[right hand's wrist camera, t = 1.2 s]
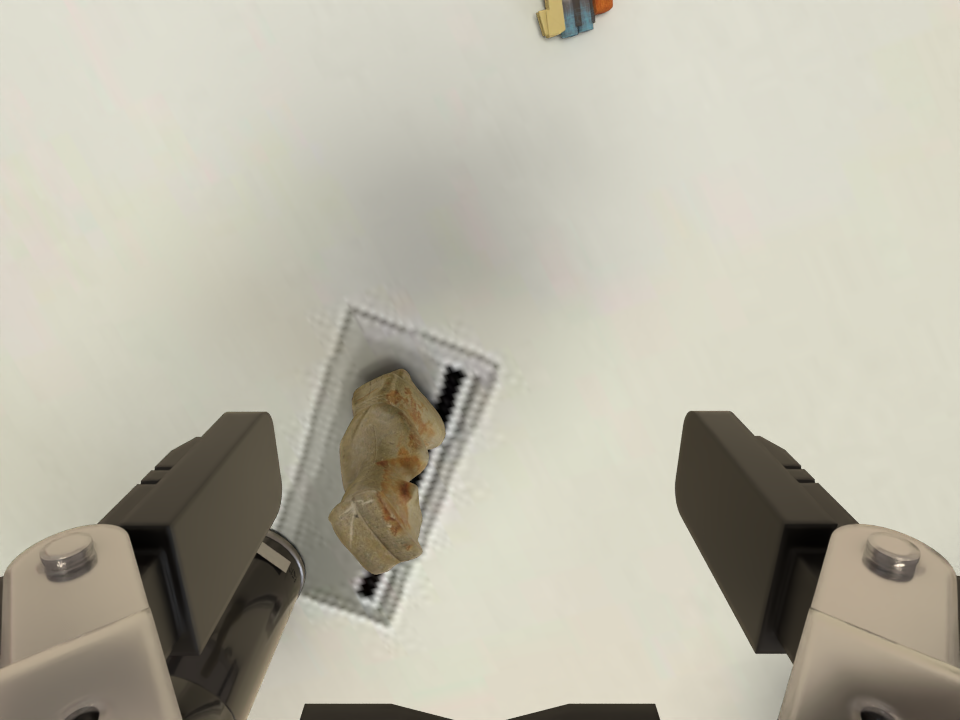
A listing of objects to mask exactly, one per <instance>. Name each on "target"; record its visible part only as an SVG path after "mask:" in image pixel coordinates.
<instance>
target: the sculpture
mask: <svg viewBox="0 0 960 720" xmlns="http://www.w3.org/2000/svg"><path fill="white" fill-rule="evenodd" d="M352 409H353V416H354V418H353V420H352V421H351V423H350V425H349V427H348V429H347V430H346V432H345V434H344V436H343V438H342V440H341V443H340V464H341V474H342V481H343V486H344V490H345V494H344V496H343V498H342V501H341V503H339V504H338V505H337V506H336V507H335V508H334V509H333V510H332V511H331V513H330V514H329V517H328V518H329V521H330V522H331V524H332V526H333V529H334V531H335V533H336V535H337V536H338V538H339V539H340V541H341V542H342V543H343V545H344V546H345V547H346V548H347V549H348V550H349V551H350V552H351V553H352V554H353V555H354V556H355V558H356V559H357V560H358V561H359V562H360V564H361V565H362V566H363V567H364V568H365V569H366V570H367V571H369V572H371V573H372V574H375V575H377V574H381V573H384V572H387V571H389V570H390V569H391V568H393V567H394V566H395V565H396V564H398V563H400V562H404V561H408V560H411V559H414V558H417V557H418V556H420V555H421V554H422V552H423V551H422V548H421V546H420V544H419V542H418V537H419V532H420V526H421V523H422V514H421V510H420V506H419V495H418V487H417V486H416V485H415V484H413V483H410V482H409V481H410V480H411V479H413V478H414V477H415V476H417V475H418V474H420V473H421V472H422V471H423V470H424V469H425V467H426V466H427V463H428V459H429V454H428V449H433V448H436V447H438V446H439V445H440V444H441V443H442V442H443V440H444V438H445V434H446V433H445V426H444V423H443V421H442V419H441V417H440V415H439V414H438V412H437V411H436V409H435V408H434V407H433V406H432V405H431V403H430V402H429V401H428V400H427V399H426V397H425V396H424V395H423V394H422V393H421V392H420V391H419V390H418V389H417V387H416V386H415V385H414V383H413V382H412V380H411V377H410V375H409V374H408V372H407V371H405V370H404V369H398V370H395V371H393V372H390V373H387V374H384V375H382V376H380V377H378V378H375V379H373V380H371V381H369V382H367V383H366V384H364V385H362V386H361V387H359V388H358V389H357V390H355V392H354V394H353V398H352Z"/></svg>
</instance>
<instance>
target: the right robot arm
mask: <svg viewBox="0 0 960 720" xmlns="http://www.w3.org/2000/svg"><path fill="white" fill-rule="evenodd" d="M675 496H676V503H677V507H678V510H679V513H680V515H681V517H682V519H683V521H684V523H685V525H686V526H687V528H688V530H689V532H690V534H691V536H692V537H693V539H694V541H695V543H696V545H697V547H698V549H699V550H700V552H701V554H702V556H703V558H704V560H705V561H706V563H707V565H708V567H709V569H710V571H711V572H712V574H713V576H714V578H715V580H716V582H717V583H718V585H719V587H720V589H721V591H722V593H723V595H724V596H725V598H726V600H727V602H728V604H729V606H730V607H731V609H732V611H733V613H734V615H735V617H736V618H737V620H738V622H739V624H740V626H741V628H742V630H743V631H744V633H745V635H746V637H747V639H748V641H749V642H750V644H751V646H752V648H753V650H754V652H755V653H756V654H787V655H788V657H789V658H790V660H791V662H792V663H793V668H792V671H791V675H790V678H789V682H788V685H787V689H786V692H785V696H784V699H783V703H782V706H781V710H780V713H779V717H778V720H960V576H956V573H955V571H954V569H953V567H952V566H951V565H950V564H949V562H948V561H947V560H946V559H945V558H944V557H943V556H942V555H940V554H939V553H938V552H936V551H935V550H934V549H932V548H931V547H929V546H928V545H926V544H924V543H923V542H921V541H919V540H917V539H915V538H913V537H910V536H908V535H906V534H903V533H900V532H898V531H895V530H891V529H888V528H884V527H880V526H875V525H867V524H859V523H858V522H857V521H856V520H855V519H854V518H853V517H852V516H851V515H850V514H849V513H848V512H847V511H846V510H845V509H844V508H843V507H842V506H841V505H840V504H839V503H838V502H837V501H836V500H835V499H834V498H833V497H832V496H831V495H830V494H829V493H828V492H827V491H826V490H825V489H824V488H823V487H822V486H821V485H820V484H819V483H815V479H814V478H813V477H812V476H811V475H810V474H809V473H808V472H807V471H806V470H805V469H801V465H800V464H799V463H798V462H797V461H796V460H795V459H794V458H793V457H792V456H791V455H790V454H789V453H788V452H787V451H786V450H784V449H782V448H781V447H779V446H777V445H775V444H773V443H772V442H770V441H768V440H766V439H764V438H763V437H761V436H754V435H753V434H752V433H751V432H750V430H749V429H748V428H747V427H746V426H745V425H744V424H743V423H742V422H741V421H740V420H739V419H738V418H737V417H736V416H735V415H734V414H733V413H732V412H730V411H690V412H688V413H687V415H686V417H685V420H684V424H683V431H682V438H681V445H680V452H679V459H678V466H677V473H676V481H675ZM281 497H282V482H281V475H280V468H279V461H278V454H277V447H276V440H275V433H274V426H273V421H272V418H271V416H270V414H269V413H267V412H226V413H224V414H223V415H222V416H221V417H220V418H219V419H218V420H217V421H216V422H215V423H214V424H213V425H212V426H211V428H210V429H209V430H208V431H207V432H206V433H205V434H204V435H203V436H202V437H196V438H194V439H192V440H190V441H188V442H186V443H185V444H183V445H181V446H179V447H177V448H176V449H174V450H172V451H171V452H170V453H169V454H168V455H167V456H166V457H165V458H164V459H163V460H162V461H161V462H160V463H159V464H157V465H156V466H155V470H151V471H150V472H149V473H148V474H147V475H146V476H145V477H144V478H143V479H142V480H141V484H137V485H136V486H135V487H134V488H133V489H132V490H131V491H130V492H129V493H128V494H127V495H126V496H125V497H124V498H123V499H122V500H121V501H120V502H119V503H118V504H117V505H116V506H115V507H114V508H113V509H112V510H111V511H110V512H109V513H108V514H107V515H106V516H105V517H104V518H103V519H102V520H101V521H100V522H99V523H98V524H93V525H85V526H80V527H76V528H72V529H69V530H65V531H62V532H60V533H57V534H54V535H52V536H50V537H47V538H45V539H43V540H41V541H39V542H37V543H36V544H34V545H32V546H31V547H29V548H28V549H26V550H25V551H24V552H22V553H21V554H20V555H18V556H17V557H16V558H15V559H14V560H13V561H12V562H11V564H10V565H9V566H8V567H7V569H6V571H5V573H4V576H3V577H0V720H247V717H248V715H249V713H250V710H251V708H252V705H253V703H254V701H255V698H256V696H257V693H258V691H259V688H260V686H261V684H262V681H263V679H264V676H265V674H266V672H267V669H268V667H269V664H270V662H271V659H272V657H273V655H274V652H275V650H276V647H277V645H278V643H279V640H280V638H281V635H282V633H283V631H284V628H285V626H286V623H287V621H288V619H289V616H290V614H291V611H292V609H293V607H294V604H295V602H296V600H297V598H298V597H299V595H300V593H301V590H302V588H303V585H304V582H305V568H304V564H303V561H302V559H301V557H300V555H299V553H298V552H297V551H296V549H295V548H294V547H293V546H292V545H291V544H290V543H289V542H288V541H287V540H286V539H284V538H283V537H281V536H280V535H278V534H276V533H275V532H272V531H270V530H269V529H270V527H271V525H272V524H273V522H274V520H275V518H276V516H277V514H278V511H279V508H280V504H281ZM300 720H452V719H448V718H444V717H440V716H437V715H433V714H429V713H425V712H421V711H417V710H413V709H409V708H405V707H401V706H398V705H394V704H305V705H304V708H303V712H302V715H301V718H300ZM508 720H660V718H659V715H658V712H657V708H656V705H655V704H566V705H562V706H559V707H555V708H551V709H547V710H543V711H539V712H535V713H531V714H527V715H523V716H520V717H516V718H512V719H508Z"/></svg>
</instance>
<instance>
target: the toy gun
mask: <svg viewBox="0 0 960 720" xmlns="http://www.w3.org/2000/svg"><path fill="white" fill-rule="evenodd" d="M545 7H546V10H542V11H539V12H538V13H536V14H537V18H538V21H539V24H540V28H541V31H542V35H543V36H546V38H550V37H554V36H556V35H558V34H560V33H561V37H562V38H566V37H571V36H575V35H577V34H578V33H580V32H585V31H589V30H592V29H593V23H595V15H598V14H602V13H605V12H607V11H609V10H610V9H611V8H612V7H613V0H545ZM577 28H578V29H577Z"/></svg>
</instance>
